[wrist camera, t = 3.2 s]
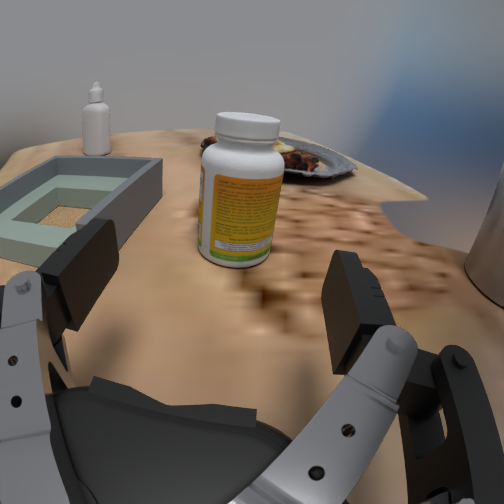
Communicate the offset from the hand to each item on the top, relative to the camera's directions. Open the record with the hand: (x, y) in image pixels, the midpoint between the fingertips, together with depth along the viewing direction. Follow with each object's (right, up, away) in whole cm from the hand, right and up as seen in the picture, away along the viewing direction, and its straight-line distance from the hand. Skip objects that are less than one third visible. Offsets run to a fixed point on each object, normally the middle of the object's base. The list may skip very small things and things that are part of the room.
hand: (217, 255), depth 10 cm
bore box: (-15, +2, +12) cm, 19 cm away
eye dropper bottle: (-24, +16, +31) cm, 42 cm away
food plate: (+5, +15, +36) cm, 39 cm away
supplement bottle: (0, 0, +12) cm, 12 cm away
